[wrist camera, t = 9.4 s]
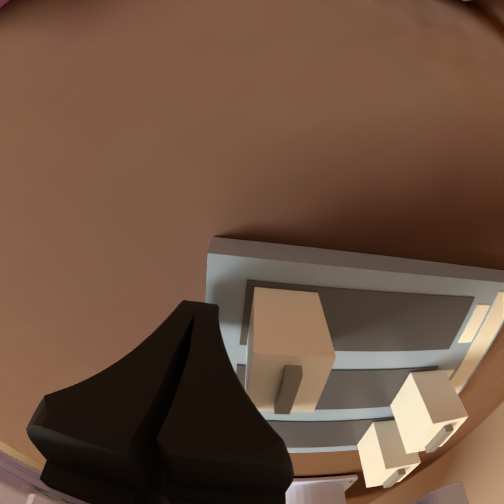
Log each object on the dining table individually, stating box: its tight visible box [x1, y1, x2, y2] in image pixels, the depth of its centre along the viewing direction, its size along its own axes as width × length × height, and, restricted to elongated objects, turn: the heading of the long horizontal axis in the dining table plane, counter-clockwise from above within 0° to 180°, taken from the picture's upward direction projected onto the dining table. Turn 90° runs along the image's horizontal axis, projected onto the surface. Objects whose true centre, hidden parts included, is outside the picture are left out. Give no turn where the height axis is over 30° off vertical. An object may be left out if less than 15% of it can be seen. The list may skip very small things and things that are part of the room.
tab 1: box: [245, 287, 336, 415], centre depth 10 cm, size 3×2×4 cm
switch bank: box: [206, 237, 504, 453], centre depth 15 cm, size 14×16×2 cm
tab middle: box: [390, 370, 468, 454], centre depth 13 cm, size 3×2×4 cm
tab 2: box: [357, 420, 421, 488], centre depth 15 cm, size 3×2×4 cm
